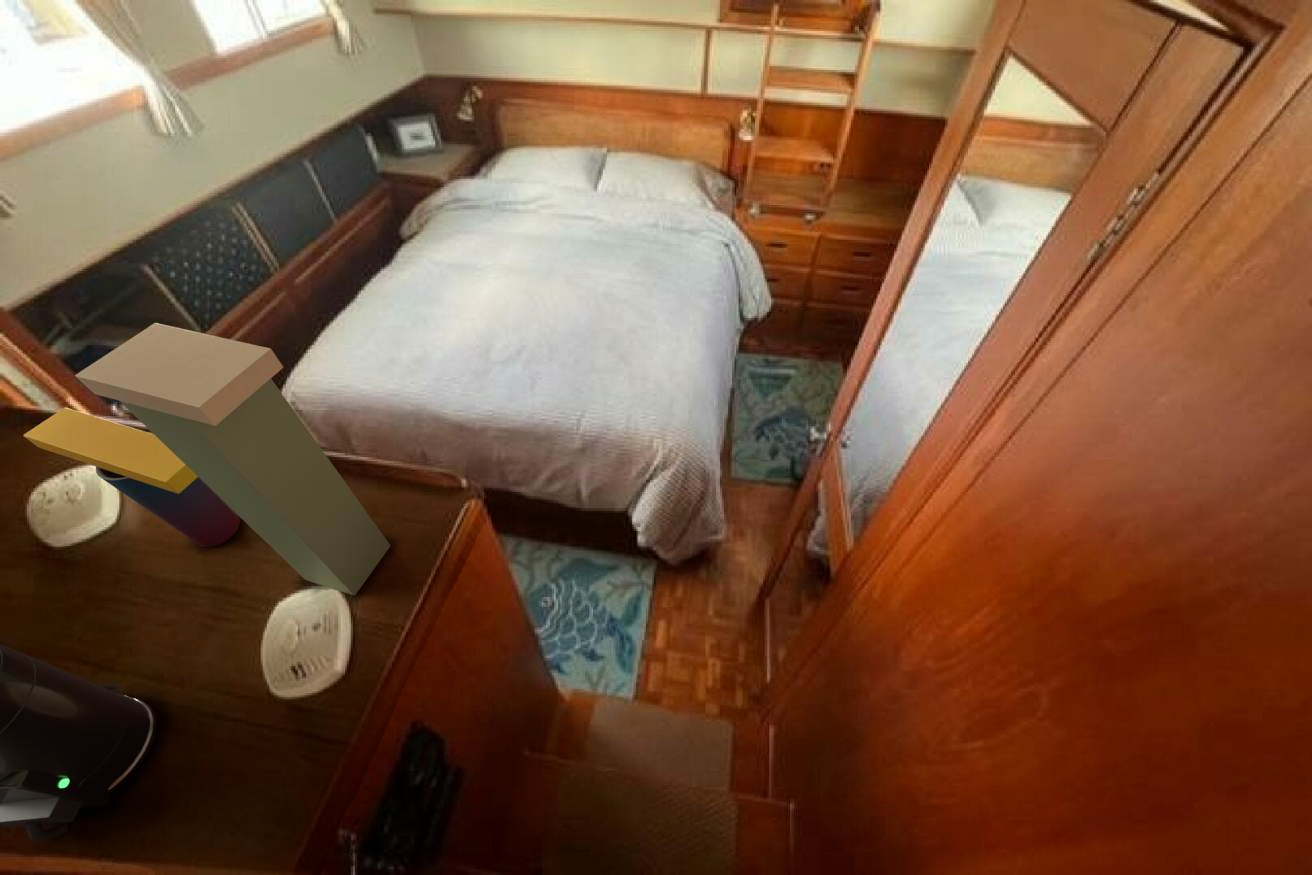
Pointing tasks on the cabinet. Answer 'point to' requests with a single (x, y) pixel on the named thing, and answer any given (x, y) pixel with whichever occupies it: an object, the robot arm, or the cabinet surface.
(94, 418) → the yellow bar
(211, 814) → the cabinet surface
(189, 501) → the cup
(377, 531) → the stand
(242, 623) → the cabinet surface
